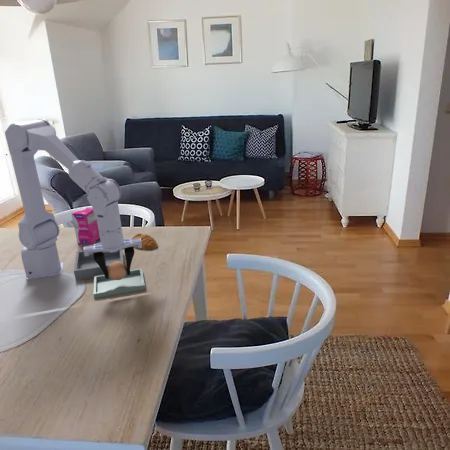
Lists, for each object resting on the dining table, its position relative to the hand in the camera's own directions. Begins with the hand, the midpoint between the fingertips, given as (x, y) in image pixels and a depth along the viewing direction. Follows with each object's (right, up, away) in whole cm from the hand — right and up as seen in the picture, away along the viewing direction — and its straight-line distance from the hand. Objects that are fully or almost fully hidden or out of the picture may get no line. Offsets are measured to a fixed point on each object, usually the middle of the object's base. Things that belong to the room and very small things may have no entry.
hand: (117, 275), depth 110 cm
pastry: (+2, +6, +26) cm, 26 cm away
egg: (0, -1, +1) cm, 1 cm away
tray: (0, -3, +1) cm, 3 cm away
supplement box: (-18, +7, +31) cm, 37 cm away
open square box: (-8, +1, +12) cm, 15 cm away
